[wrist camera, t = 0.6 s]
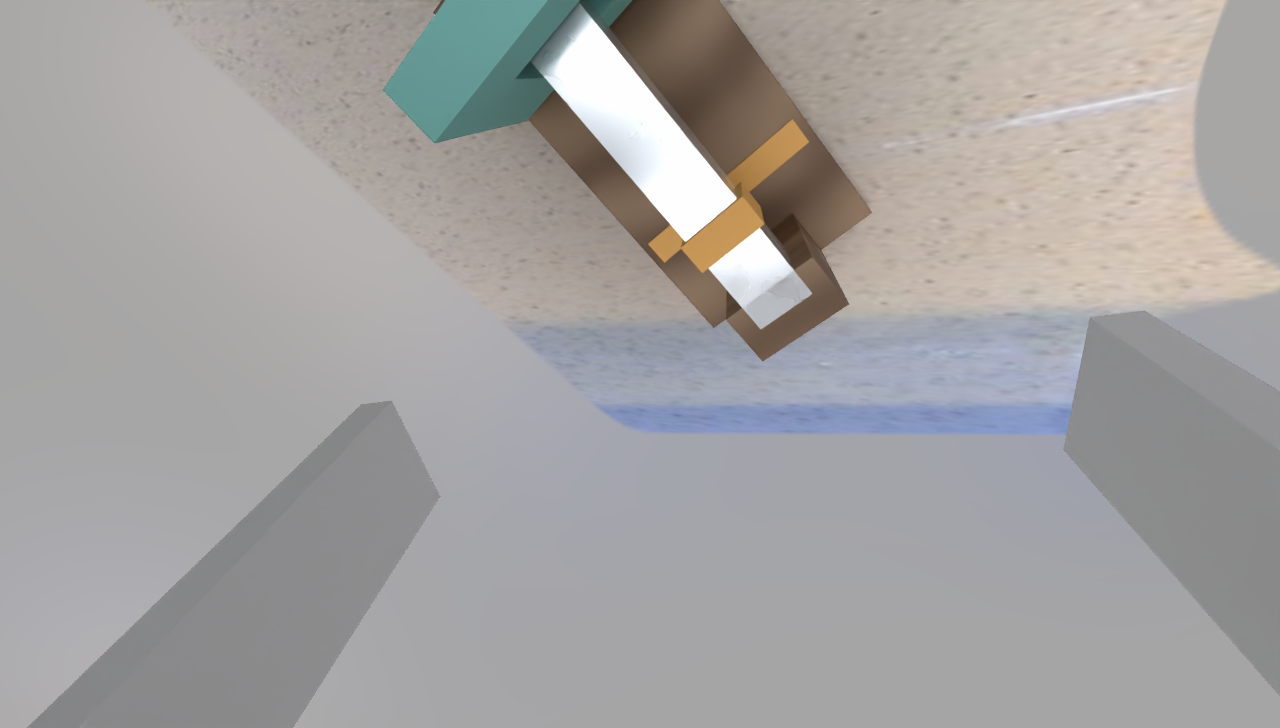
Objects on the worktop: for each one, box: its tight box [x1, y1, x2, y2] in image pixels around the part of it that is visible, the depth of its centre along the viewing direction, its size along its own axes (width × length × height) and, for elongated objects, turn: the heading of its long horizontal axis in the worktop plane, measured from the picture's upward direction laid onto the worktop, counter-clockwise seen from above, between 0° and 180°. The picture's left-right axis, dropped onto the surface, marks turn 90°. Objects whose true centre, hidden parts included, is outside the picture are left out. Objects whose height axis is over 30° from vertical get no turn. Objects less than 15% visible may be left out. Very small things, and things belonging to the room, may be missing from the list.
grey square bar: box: [530, 0, 812, 329], centre depth 25 cm, size 22×3×3 cm, turn 43°
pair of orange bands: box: [648, 119, 809, 273], centre depth 29 cm, size 2×11×9 cm, turn 133°
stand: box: [433, 0, 872, 361], centre depth 28 cm, size 25×12×10 cm, turn 43°
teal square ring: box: [383, 0, 632, 143], centre depth 23 cm, size 2×11×11 cm, turn 133°
